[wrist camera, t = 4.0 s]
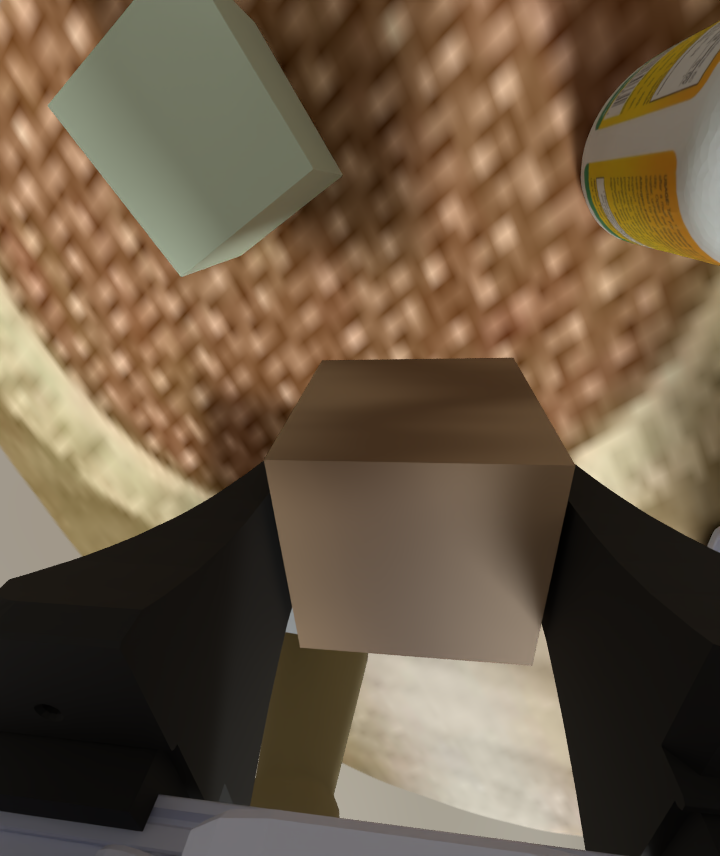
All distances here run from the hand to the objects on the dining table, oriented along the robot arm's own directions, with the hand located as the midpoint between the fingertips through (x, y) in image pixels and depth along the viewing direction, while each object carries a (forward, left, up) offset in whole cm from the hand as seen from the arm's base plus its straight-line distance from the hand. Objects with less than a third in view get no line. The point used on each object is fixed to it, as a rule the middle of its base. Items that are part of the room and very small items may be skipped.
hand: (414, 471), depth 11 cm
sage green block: (+6, -8, -8) cm, 13 cm away
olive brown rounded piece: (+6, +20, -8) cm, 23 cm away
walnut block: (0, 0, -2) cm, 2 cm away
